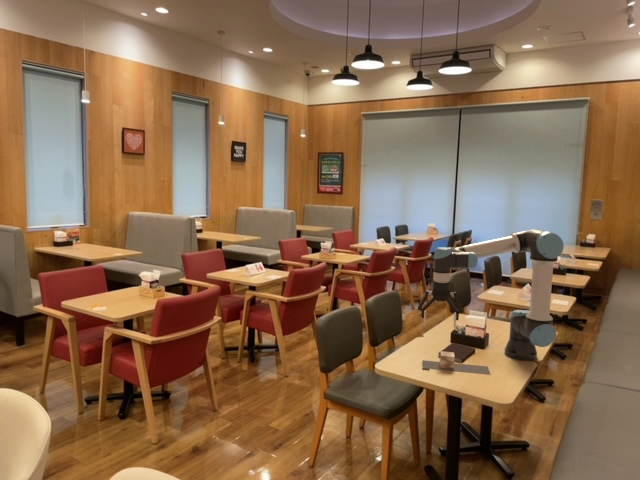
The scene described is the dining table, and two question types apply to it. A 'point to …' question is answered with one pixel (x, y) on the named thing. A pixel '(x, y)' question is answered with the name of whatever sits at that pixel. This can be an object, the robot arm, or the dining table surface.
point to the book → (459, 351)
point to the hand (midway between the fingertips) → (439, 326)
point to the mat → (457, 367)
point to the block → (447, 360)
